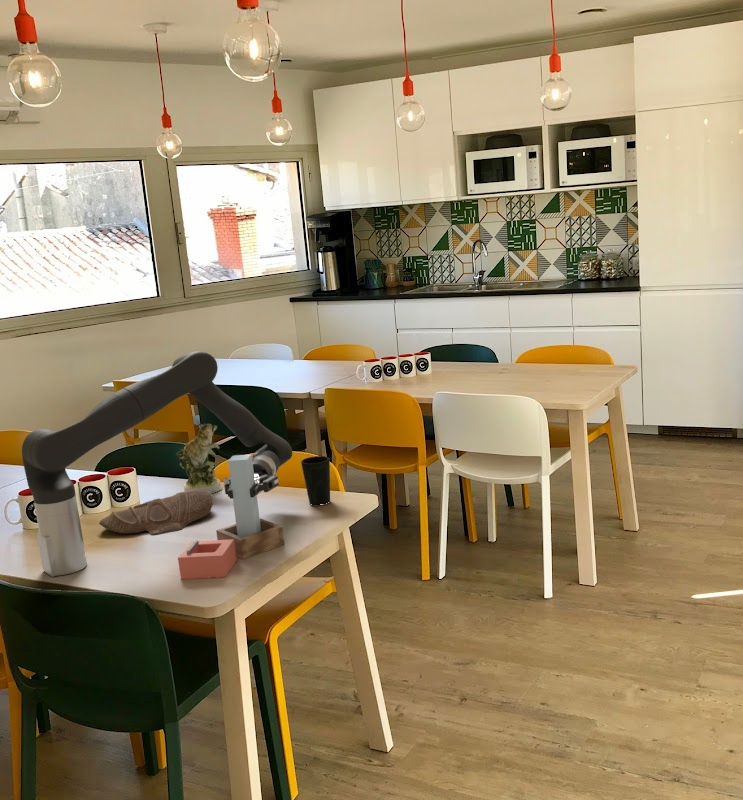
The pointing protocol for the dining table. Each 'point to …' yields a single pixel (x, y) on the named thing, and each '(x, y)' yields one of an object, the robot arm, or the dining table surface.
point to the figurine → (200, 461)
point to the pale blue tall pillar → (244, 495)
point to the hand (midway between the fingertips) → (241, 493)
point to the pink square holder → (207, 559)
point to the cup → (317, 479)
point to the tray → (254, 539)
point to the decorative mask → (161, 514)
